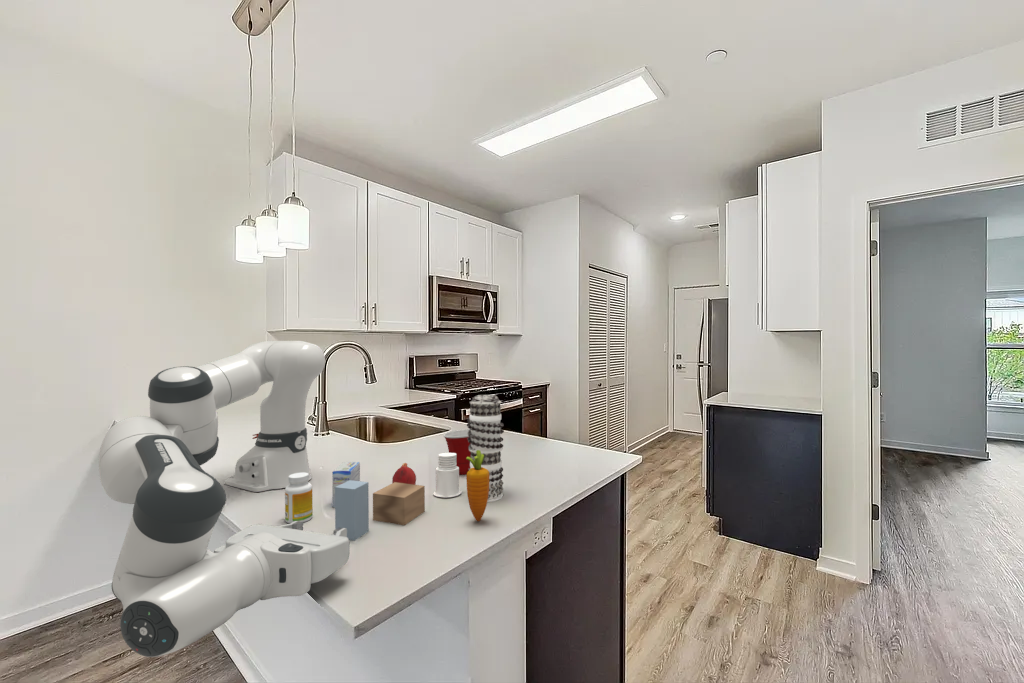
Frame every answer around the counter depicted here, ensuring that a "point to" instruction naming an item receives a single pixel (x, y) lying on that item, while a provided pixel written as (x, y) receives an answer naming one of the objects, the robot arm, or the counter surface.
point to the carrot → (477, 486)
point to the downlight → (447, 476)
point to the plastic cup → (459, 448)
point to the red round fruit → (404, 475)
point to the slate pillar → (352, 508)
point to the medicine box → (344, 475)
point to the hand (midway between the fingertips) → (321, 528)
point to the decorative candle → (487, 439)
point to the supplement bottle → (298, 498)
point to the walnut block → (398, 503)
